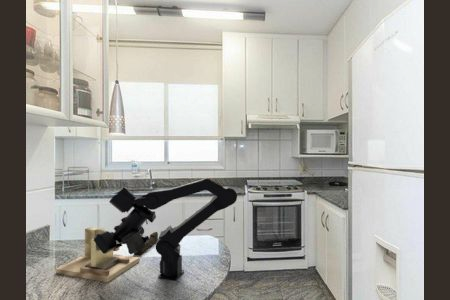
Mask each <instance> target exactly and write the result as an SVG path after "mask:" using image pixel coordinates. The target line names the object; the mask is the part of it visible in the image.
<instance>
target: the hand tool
mask: <svg viewBox="0 0 450 300" xmlns="http://www.w3.org/2000/svg"><path fill="white" fill-rule="evenodd" d="M148 237H149V241H148V242H147V243H146V246H145V248H143V249H142V250H140V251H138V252H136V253H133V255H134V256H142V254H144V252H145V251H146V250H147V249H149V248H150V247H151V246H152V245H156V243H157V240H158V238H159V233H158V231H155V232H154V231H153V232H152V233H151V234H150V235H149V236H148Z"/></svg>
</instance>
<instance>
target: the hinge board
mask: <svg viewBox="0 0 450 300" xmlns="http://www.w3.org/2000/svg"><path fill="white" fill-rule="evenodd" d="M105 231H106V230H105V228H102V227H101V228H97V227H87V228H84V256H81V257H79V258H77V259H74V260H72V261H70V262H68V263H66V264H64V265H61V266H59V267H57V268H55V273H56V274H60V275H65V276H69V277H78V278H83V279H86V280H87V279H88V280H94V281H98V282H105V283H109V282H110V281H112V280H115V278H117V277H118V276H120V275H122V274H123V273H125V272H127V270H129V269H131V268H132V267H134V266H135V265H136V264H138V263H140V260H141V257H139V256H132V255H131V256H130V255H123V254H116V253H113V258H119V263H117V264H115V265H114V266H112V267H110V268H109V269H107V270H100V269H94V268H87V267H85V265H87V264H89V263H91V239H93V238H94V237H95V236H96V235H97V234H99V233H102V232H105Z"/></svg>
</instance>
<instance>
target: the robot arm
mask: <svg viewBox="0 0 450 300" xmlns="http://www.w3.org/2000/svg"><path fill="white" fill-rule="evenodd" d="M204 191H207V192H209V193H211V194H213V197H212V198H211V199H210V201H208V202H207V203H206V204H205V205H203V206H202V207H200V209H198V210H197V211H195V212H194V213H193V214H192V215H191V216H189V217H188V218H187V219H185V220H184V221H183V222H181V223H180V224H179V225H177V226H175V227H172V225H171V224H170V225H168V227H166V228H165V229H164V230H162V231H160V233H159V235H158V240H157V242H156V244H155V251H156V253H157V254H158V255H160V260H159V274H158V275H157V277H158V278H159V279H164V280H165V279H166V280H172V281H177V279H179V278H180V276H182V274H183V273H185V270H184V269H183V255H182V254H181V244H180V243H181V242H182V240H183V239H184V238H185V237H186V236H187V235H189V234H190V233H191V232H193V231H194V230H195V229H196V228H198V227H199V226H200V225H201V224H203V223H205V221H206V220H208V219H210V217H212V216H213V215H214V214H216V213H218V212H220V211H221V210H224V209H227V208H228V207H230V206H232V205H233V204H235V203H236V201H237V200H238V194H237V191H236V190H235V189H234V188H232V187H230V186H223V185H221V184H219V183H217V182H215V181H213V180H212V179H210V178H209V177H203V178H201V179H198V180H196V181H192V182H189V183H185V184H182V185H179V186H175V187H171V188H159V189H152V190H150V191H148V193H147V194H142V195H139V196H136V195H135V193H133V192H132V191H131V190H130V189H129V188H127V187H126V186H124V187H122V189H120V190H119V191H118V192H117V193H116V194H115V195H113V196H112V198H111V199H110V200H109V201H108V202H109V204H110V205H112V206H113V207H114V208H116V209H117V210H118V211H119V212H120V213H122V214H123V213H124V214H125V213H127V214H128V215H127V216H125V217H122V218H121V219H120V221H121V222H120V223H119V224H118V225H115V226H114V227H113V231H114V232H113V231H108V230H105V232H102V233H99V234H97V235H96V236H95V237H94V241H95V243H96V244H97V246H98V247H99V248H100V250H101V251H102V253H104V254H106V253H108V252H110V251H112V250H113V249H114V248H118V247H119V248H121V247H122V246H123V245H126V247H127V250H128V251H127V252H128V254H130V255H134V253H136V252H138V251H140V250H142V249H143V248H145V246H146V243H147V242H148V241H149V237H150V236H149V235H146V234H145V228H144V227H143V225H144V224H145V223H146V222H147V221H149V222H150V223H153V222H154V221H155V220H156V219H157V216H156V215H157V214H156V211H155V210H157V209H158V208H161V207H163V206H165V205H167V204H168V203H170V202H172V201H174V200H178V199H181V198H184V197H188V196H191V195H193V194H197V193H201V192H204ZM130 210H131V211H130ZM153 210H154V211H153Z"/></svg>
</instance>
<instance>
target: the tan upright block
mask: <svg viewBox="0 0 450 300" xmlns="http://www.w3.org/2000/svg"><path fill="white" fill-rule="evenodd" d="M118 251H120V247H118V248H114V249H113V250H112V251H110V252H108V253H106V254H104V253H102V251H101V250H100V248H99V247H98V246H97V244H96V243H95V241H94V238H93V239H91V263H89V264H87V265H85V267H87V268H94V269H100V270H107V269H109V268H110V267H112V266H114V265H115V264H117V263H119V258H113V254H114V252H118Z"/></svg>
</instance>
